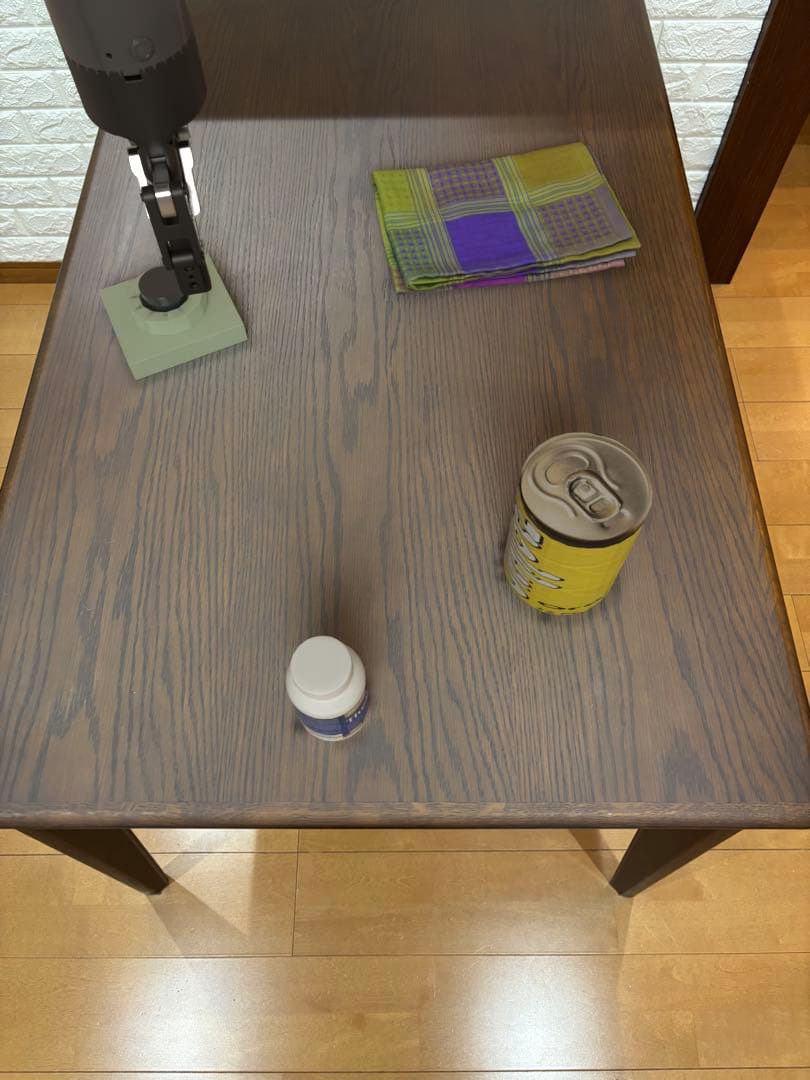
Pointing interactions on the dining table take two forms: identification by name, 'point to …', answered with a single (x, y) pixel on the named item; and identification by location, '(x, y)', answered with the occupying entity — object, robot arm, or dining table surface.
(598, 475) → the beverage can
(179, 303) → the lid button
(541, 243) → the dish towel
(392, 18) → the dining table surface
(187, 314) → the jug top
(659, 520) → the dining table surface
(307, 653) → the pill bottle
